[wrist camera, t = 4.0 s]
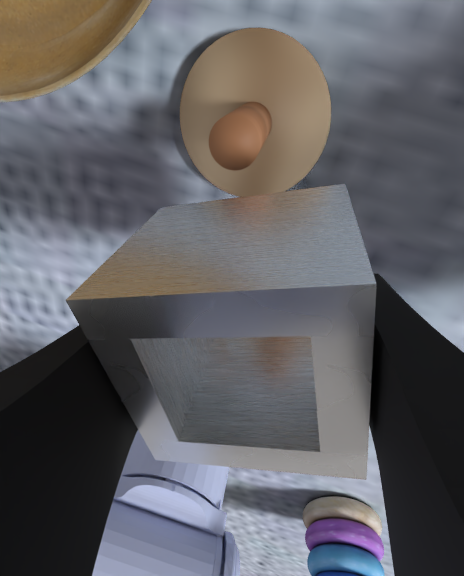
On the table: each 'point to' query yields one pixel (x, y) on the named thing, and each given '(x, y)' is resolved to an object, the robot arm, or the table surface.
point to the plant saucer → (58, 41)
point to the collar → (242, 332)
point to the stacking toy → (343, 538)
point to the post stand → (255, 112)
